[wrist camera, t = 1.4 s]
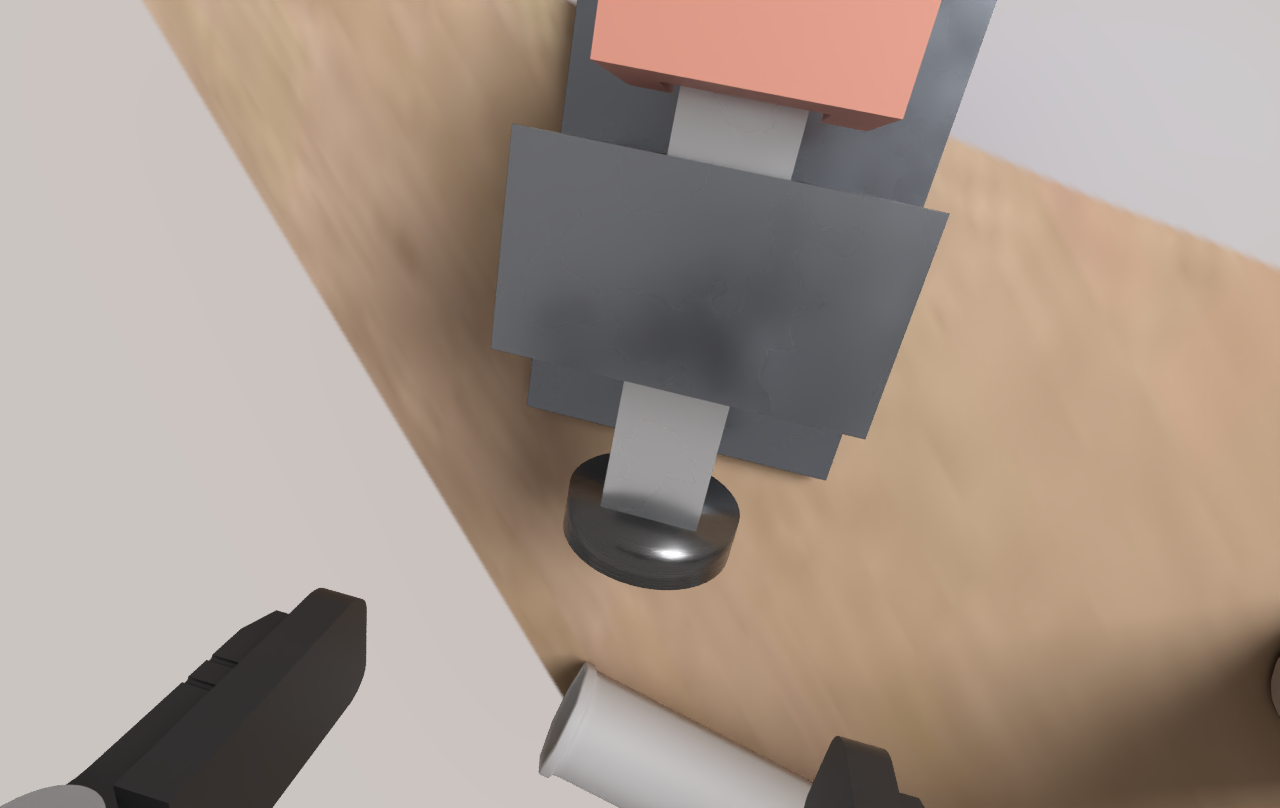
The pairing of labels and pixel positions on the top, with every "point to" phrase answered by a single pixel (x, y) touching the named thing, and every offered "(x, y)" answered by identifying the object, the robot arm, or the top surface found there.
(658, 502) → the shaft
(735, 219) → the bearing block
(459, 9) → the top surface
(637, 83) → the block
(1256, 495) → the top surface
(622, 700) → the tube
